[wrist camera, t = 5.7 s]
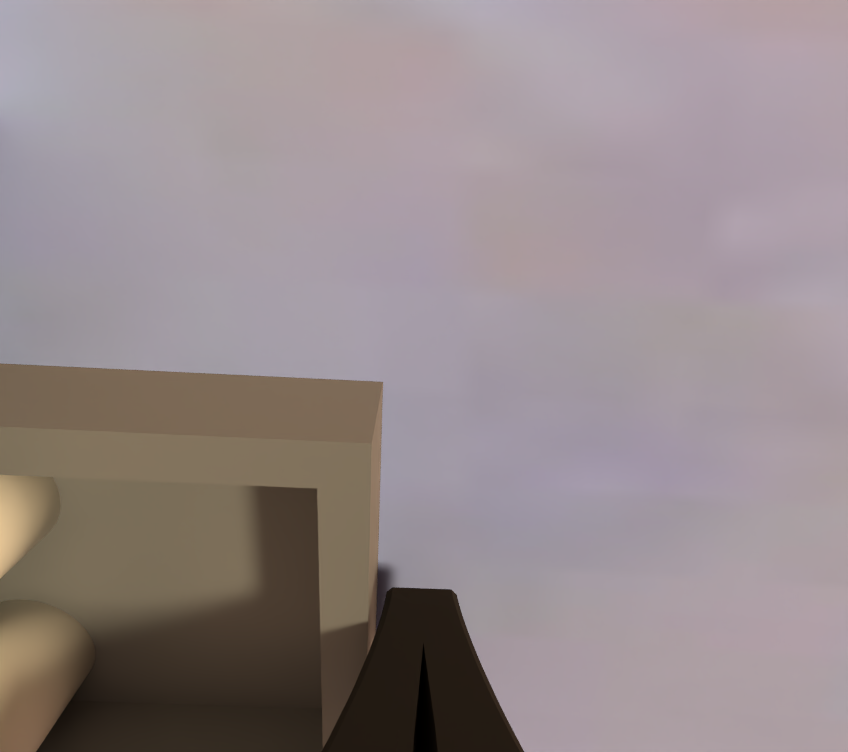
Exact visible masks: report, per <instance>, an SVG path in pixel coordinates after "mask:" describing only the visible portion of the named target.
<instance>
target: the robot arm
mask: <svg viewBox="0 0 848 752" xmlns="http://www.w3.org/2000/svg"><path fill="white" fill-rule="evenodd" d="M321 752H524V751H523V749H522V747H521V745H520V743H519V741H518V739H517V738H516V736H515V734H514V732H513V730H512V728H511V726H510V724H509V722H508V720H507V718H506V716H505V714H504V712H503V710H502V708H501V706H500V704H499V702H498V700H497V698H496V696H495V694H494V692H493V689H492V687H491V685H490V683H489V681H488V679H487V676H486V674H485V672H484V670H483V668H482V665H481V663H480V661H479V658H478V656H477V654H476V651H475V649H474V646H473V644H472V641H471V639H470V636H469V633H468V631H467V628H466V625H465V622H464V619H463V616H462V613H461V610H460V606H459V603H458V599H457V595H456V594H455V593H454V592H453V591H452V590H448V589H420V588H391V589H390V590H389V591H387V593H386V598H385V604H384V608H383V611H382V615H381V619H380V622H379V625H378V628H377V631H376V634H375V636H374V639H373V642H372V645H371V647H370V650H369V652H368V655H367V657H366V659H365V662H364V664H363V667H362V669H361V671H360V674H359V676H358V678H357V681H356V683H355V685H354V688H353V690H352V692H351V694H350V696H349V698H348V700H347V702H346V704H345V706H344V708H343V710H342V712H341V714H340V716H339V718H338V720H337V722H336V724H335V726H334V728H333V730H332V732H331V734H330V736H329V738H328V740H327V742H326V744H325V746H324V748H323V750H322V751H321Z"/></svg>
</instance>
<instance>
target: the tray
mask: <svg viewBox="0 0 848 752" xmlns="http://www.w3.org/2000/svg"><path fill="white" fill-rule="evenodd" d="M382 398H383V382H373V381H352V380H331V379H310V378H289V377H268V376H248V375H227V374H206V373H185V372H164V371H143V370H123V369H102V368H81V367H60V366H39V365H18V364H0V752H321V751H322V750H323V748H324V746H325V744H326V742H327V740H328V738H329V736H330V734H331V732H332V730H333V728H334V726H335V724H336V722H337V720H338V718H339V716H340V714H341V712H342V710H343V708H344V706H345V704H346V702H347V700H348V698H349V696H350V694H351V692H352V690H353V688H354V685H355V683H356V681H357V678H358V676H359V674H360V671H361V669H362V667H363V664H364V662H365V659H366V657H367V655H368V652H369V650H370V647H371V645H372V642H373V639H374V636H375V634H376V610H377V575H378V540H379V504H380V469H381V434H382Z"/></svg>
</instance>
